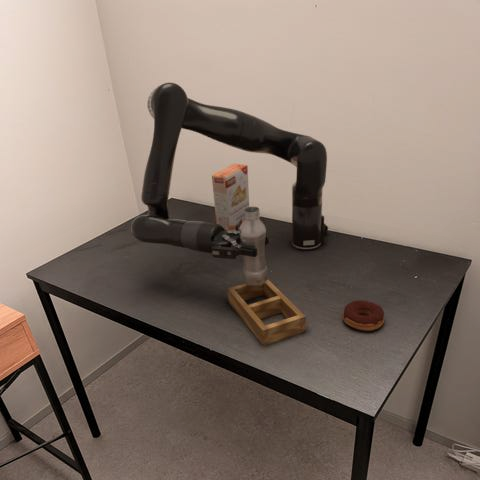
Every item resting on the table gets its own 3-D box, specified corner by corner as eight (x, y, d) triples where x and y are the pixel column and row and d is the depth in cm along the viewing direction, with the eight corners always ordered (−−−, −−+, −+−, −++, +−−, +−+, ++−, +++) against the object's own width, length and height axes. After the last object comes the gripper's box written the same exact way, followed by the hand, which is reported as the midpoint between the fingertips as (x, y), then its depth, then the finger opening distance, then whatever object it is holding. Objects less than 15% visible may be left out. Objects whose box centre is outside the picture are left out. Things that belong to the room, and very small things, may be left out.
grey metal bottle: (273, 281, 117) (271, 207, 105) (256, 293, 113) (252, 217, 101) (255, 274, 120) (250, 202, 109) (237, 285, 117) (231, 211, 105)
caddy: (266, 291, 127) (265, 277, 124) (305, 331, 110) (305, 316, 108) (228, 302, 123) (227, 288, 121) (263, 345, 107) (262, 330, 104)
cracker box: (231, 237, 157) (225, 177, 145) (216, 234, 160) (210, 175, 148) (251, 221, 166) (248, 164, 154) (237, 219, 169) (233, 162, 157)
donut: (392, 323, 110) (394, 309, 108) (363, 338, 106) (364, 325, 104) (362, 305, 117) (363, 292, 115) (333, 319, 113) (334, 306, 111)
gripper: (185, 235, 108) (249, 245, 102) (214, 212, 119) (273, 219, 112) (190, 262, 113) (250, 274, 106) (217, 238, 123) (274, 247, 116)
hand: (262, 246), depth 109 cm, fingers closed on grey metal bottle, 6 cm apart
